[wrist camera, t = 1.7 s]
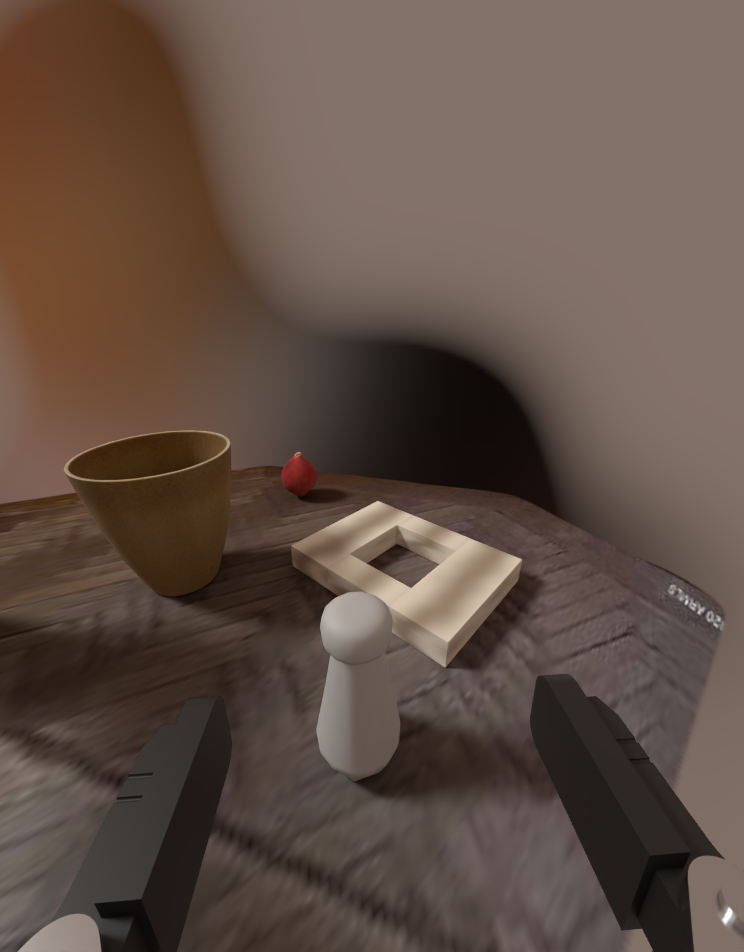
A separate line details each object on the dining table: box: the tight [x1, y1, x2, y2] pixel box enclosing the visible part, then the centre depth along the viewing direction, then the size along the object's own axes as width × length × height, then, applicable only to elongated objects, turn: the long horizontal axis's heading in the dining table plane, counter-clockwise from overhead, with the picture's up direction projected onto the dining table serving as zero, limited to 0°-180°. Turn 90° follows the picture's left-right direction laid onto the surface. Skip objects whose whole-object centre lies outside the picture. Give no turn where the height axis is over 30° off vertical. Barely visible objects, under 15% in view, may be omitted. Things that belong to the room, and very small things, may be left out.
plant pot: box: [64, 431, 231, 596], centre depth 42 cm, size 15×15×16 cm
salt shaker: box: [316, 592, 400, 782], centre depth 25 cm, size 6×6×13 cm
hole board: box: [291, 501, 522, 668], centre depth 45 cm, size 22×16×3 cm
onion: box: [282, 452, 317, 497], centre depth 63 cm, size 6×6×8 cm
